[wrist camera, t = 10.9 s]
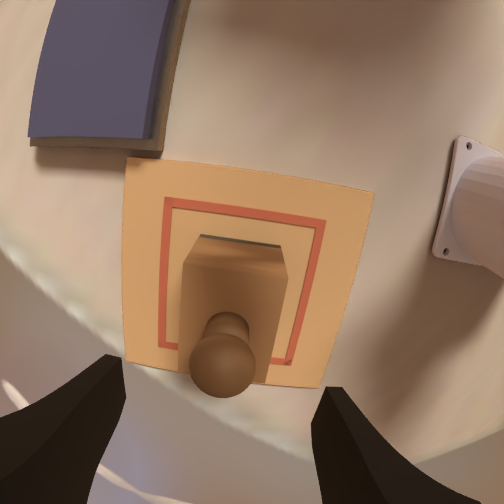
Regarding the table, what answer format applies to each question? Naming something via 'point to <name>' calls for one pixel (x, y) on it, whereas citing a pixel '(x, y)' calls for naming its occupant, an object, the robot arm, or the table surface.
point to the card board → (244, 228)
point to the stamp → (230, 312)
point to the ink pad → (107, 73)
